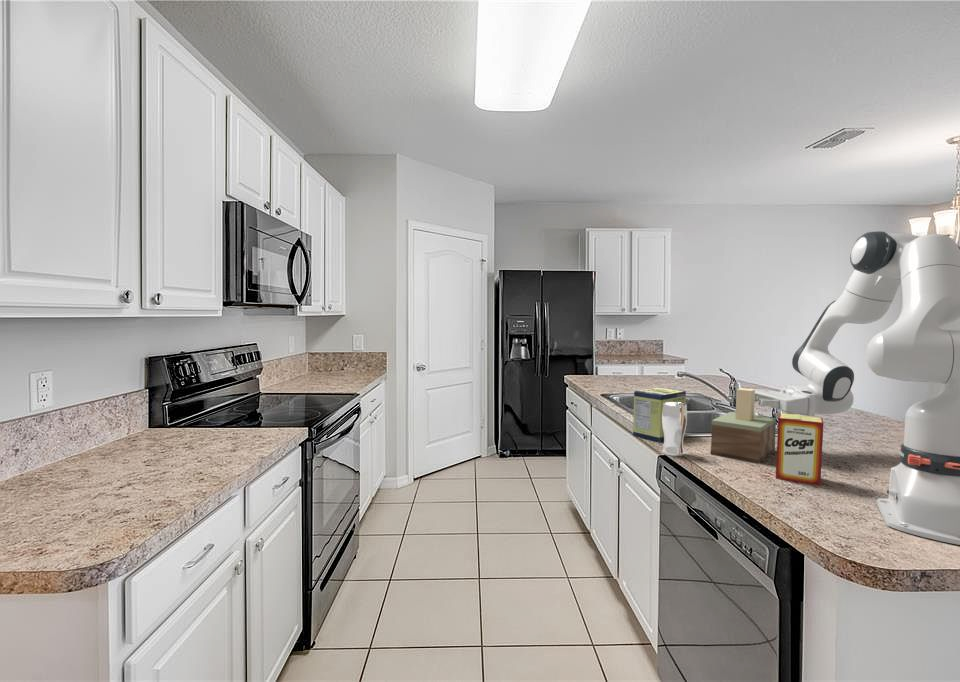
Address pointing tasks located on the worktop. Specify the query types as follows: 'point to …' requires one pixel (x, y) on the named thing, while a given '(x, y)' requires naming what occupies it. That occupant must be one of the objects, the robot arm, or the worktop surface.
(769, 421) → the lid
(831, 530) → the worktop surface
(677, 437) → the beer glass
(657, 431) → the protein box
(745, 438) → the open wooden box
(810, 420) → the baking soda box
